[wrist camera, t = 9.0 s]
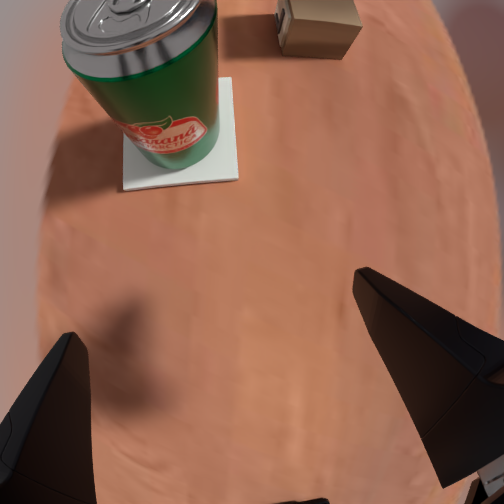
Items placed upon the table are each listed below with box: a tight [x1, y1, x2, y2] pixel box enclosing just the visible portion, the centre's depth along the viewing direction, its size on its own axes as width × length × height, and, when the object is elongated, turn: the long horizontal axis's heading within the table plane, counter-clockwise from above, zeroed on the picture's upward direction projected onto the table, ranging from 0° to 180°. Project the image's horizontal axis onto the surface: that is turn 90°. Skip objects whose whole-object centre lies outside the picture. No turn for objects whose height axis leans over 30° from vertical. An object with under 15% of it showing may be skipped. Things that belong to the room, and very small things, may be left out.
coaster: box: [123, 77, 238, 191], centre depth 18 cm, size 7×7×1 cm
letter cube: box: [274, 0, 363, 60], centre depth 17 cm, size 4×5×4 cm
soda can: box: [60, 0, 220, 169], centre depth 12 cm, size 5×5×12 cm
